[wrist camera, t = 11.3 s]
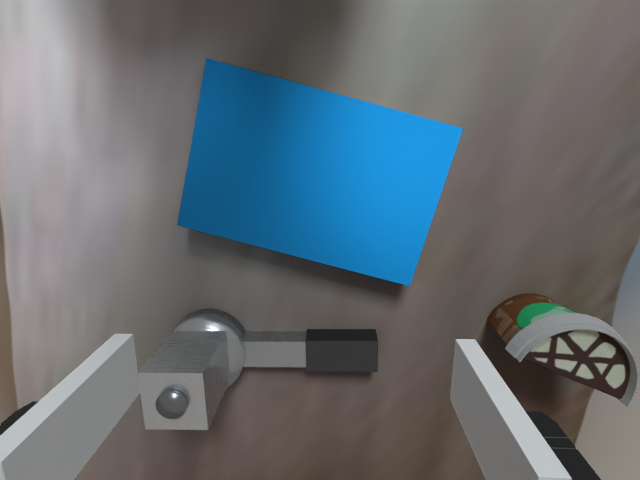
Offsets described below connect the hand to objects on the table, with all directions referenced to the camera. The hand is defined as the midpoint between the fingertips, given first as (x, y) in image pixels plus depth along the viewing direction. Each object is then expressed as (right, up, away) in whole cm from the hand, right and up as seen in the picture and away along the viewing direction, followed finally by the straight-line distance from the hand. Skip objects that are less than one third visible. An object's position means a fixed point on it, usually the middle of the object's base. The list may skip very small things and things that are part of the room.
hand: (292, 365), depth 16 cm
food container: (+26, -3, +29) cm, 39 cm away
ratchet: (-4, -7, +31) cm, 32 cm away
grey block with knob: (-12, -8, +28) cm, 32 cm away
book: (+1, +12, +27) cm, 29 cm away
